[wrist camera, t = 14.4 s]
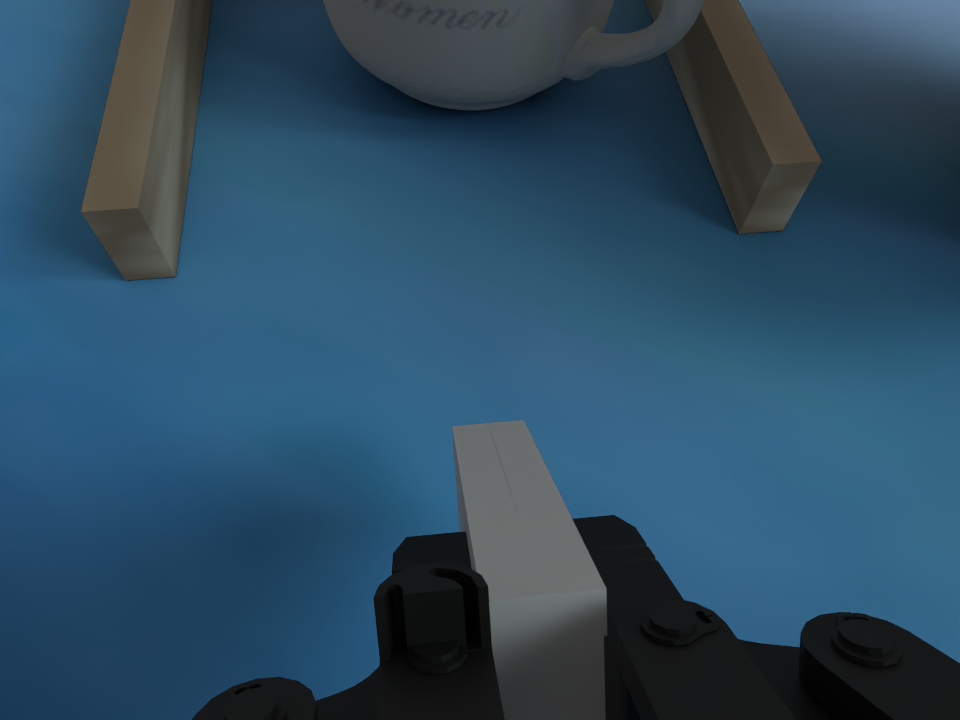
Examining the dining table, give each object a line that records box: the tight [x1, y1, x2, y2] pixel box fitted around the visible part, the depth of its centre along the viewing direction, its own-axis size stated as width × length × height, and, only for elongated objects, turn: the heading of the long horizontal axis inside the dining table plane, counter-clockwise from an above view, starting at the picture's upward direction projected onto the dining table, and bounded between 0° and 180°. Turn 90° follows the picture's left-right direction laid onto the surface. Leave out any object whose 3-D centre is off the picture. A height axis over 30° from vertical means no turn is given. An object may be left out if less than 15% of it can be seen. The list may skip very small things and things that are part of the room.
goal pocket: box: [81, 0, 822, 280], centre depth 26 cm, size 21×18×3 cm
